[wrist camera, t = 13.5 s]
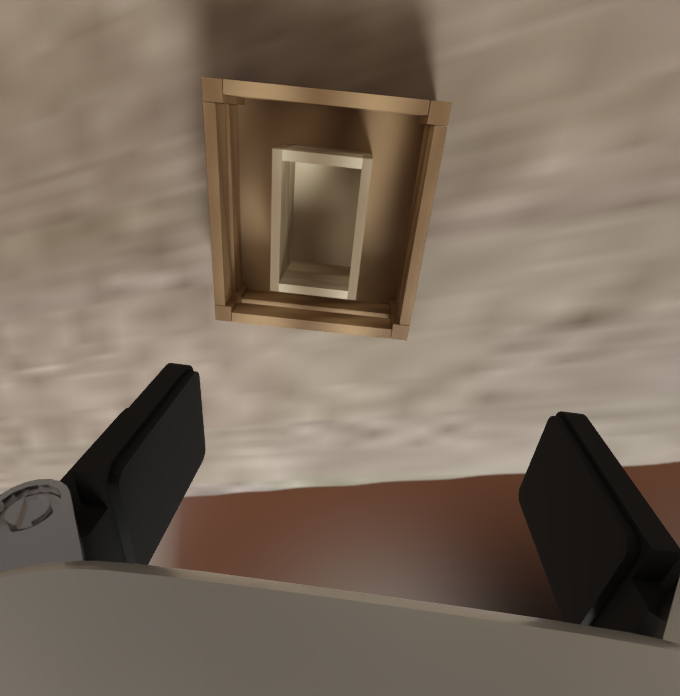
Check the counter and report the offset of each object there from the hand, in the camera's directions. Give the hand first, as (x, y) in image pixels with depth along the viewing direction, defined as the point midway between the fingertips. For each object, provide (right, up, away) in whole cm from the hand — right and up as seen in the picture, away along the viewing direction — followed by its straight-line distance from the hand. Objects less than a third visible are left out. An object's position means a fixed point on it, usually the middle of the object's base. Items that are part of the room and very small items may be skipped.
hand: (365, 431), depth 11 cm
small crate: (-2, +13, +21) cm, 25 cm away
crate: (-2, +13, +22) cm, 26 cm away
